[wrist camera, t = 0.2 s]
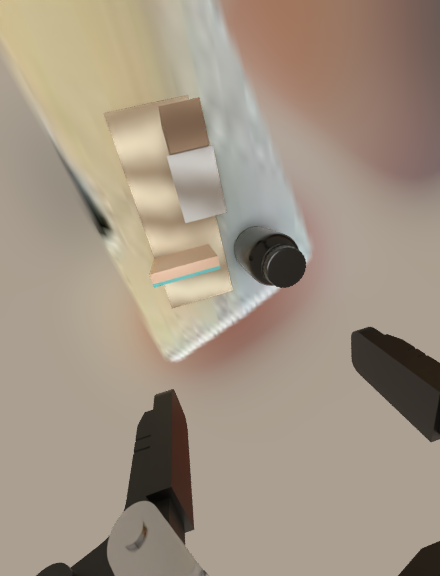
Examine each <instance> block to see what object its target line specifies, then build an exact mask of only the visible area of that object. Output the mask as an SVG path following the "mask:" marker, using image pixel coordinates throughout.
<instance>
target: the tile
mask: <svg viewBox="0 0 440 576" xmlns="http://www.w3.org/2000/svg"><path fill="white" fill-rule="evenodd" d="M218 269H221V268H220V264H219V260H218V256H217V254H216V253H215V252H214V251H213V249H212V248H211V247H210V245H209V244H205V245H202V246H198V247H194V248H191V249H187V250H183V251H180V252H176V253H172V254H169V255H165V256H161V257H157V258H154V262H153V265H152V268H151V271H150V278H151V280H152V283H153V286H154V287H158V286H161V285H165V284H169V283H172V282H176V281H179V280H183V279H186V278H190V277H193V276H197V275H200V274H204V273H207V272H211V271H215V270H218Z"/></svg>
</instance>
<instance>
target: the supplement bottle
mask: <svg viewBox="0 0 440 576" xmlns="http://www.w3.org/2000/svg"><path fill="white" fill-rule="evenodd" d="M235 256H236V258H237V260H238V262H239V263H240V264H241V266H242V267H243V268H244V269H245V270H246V271H247V272H248V273H249V274H250V275H251V276H252V277H253V278H254V279H255V280H256V281H258V282H259V283H261V284H264V285H268V286H276V287H280V288H282V287H283V288H286V287H290V286H293V285H294V284H296V283H297V282H298V281H299V280H300V279H301V278H302V276H303V275H304V272H305V268H306V262H305V258H304V255H302V252H300V251H299V249H298V246H297V244H296V243H295V242H294V240H293V239H292V238H290V237H289V236H287V235H285V234H282V233H279V232H276V231H273V230H270V229H267V228H264V227H257V226H256V227H251V228H248V229H246V230H245V231H243V232H242V233H241V234H240V236H239V237H238V239H237V241H236V244H235Z"/></svg>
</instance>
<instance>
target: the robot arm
mask: <svg viewBox="0 0 440 576" xmlns="http://www.w3.org/2000/svg"><path fill="white" fill-rule="evenodd" d="M351 349H352V363H353V366H354V367H355V369H356V371H357V372H358V373H359V374H360V375H361V376H362V377H363V378H364V379H365V380H366V381H367V382H368V383H369V384H371V386H373V387H374V388H375V389H376V390H377V391H378V392H379V393H380V394H381V395H382V396H383V397H384V398H385V399H386V400H387V401H388V402H389V403H390V404H392V406H394V407H395V408H396V409H397V410H398V411H399V412H400V413H401V414H402V415H403V416H404V417H405V418H406V419H407V420H408V421H409V422H410V423H411V424H412V425H413V426H415V427H416V428H417V429H418V430H419V431H420V432H421V433H422V434H423V435H424V436H425V437H426V438H427V439H428V440H429V441H430V442H433V441H436V440H438V439H440V363H439V362H437V361H436V360H434V359H433V358H431V357H429V356H426V355H425V353H423V352H421V351H420V350H418V349H415V347H413V346H412V345H410V344H409V343H407V342H405V341H404V340H402V339H399V338H397V337H394V336H391V335H388V334H386V335H384V334H382V333H381V332H379V331H378V330H376V329H375V328H372V327H367V328H364V329H361V330H357V331H355V332H353V333H352V335H351ZM191 530H194V520H193V505H192V489H191V474H190V459H189V445H188V429H187V423H186V418H185V415H184V413H183V410H182V408H181V405H180V403H179V400H178V398H177V395H176V393H175V391H174V389H171V390H168V391H166V392H162V393H159V394H156V395H155V398H154V407H153V410H151V411H148V412H145V413H144V415H143V417H142V419H141V420H140V422H139V424H138V427H137V434H136V442H135V447H134V455H133V461H132V468H131V474H130V481H129V487H128V494H127V500H126V505H125V509H124V512H123V513H122V514H121V516H120V517H119V518H118V520H117V521H116V523H115V525H114V527H113V529H112V531H111V534H110V536H109V537H108V538H107V539H106V540H105V541H104V542H103V543H102V544H100V545H99V546H98V547H97V548H96V549H94V550H93V551H92V552H90V553H89V554H88V555H87V556H85V557H84V558H83V559H82V560H80V561H79V562H77V563H76V564H75V565H74V566H72V567H71V568H70V567H69V566H67V565H66V564H64V563H56V564H52V565H50V566H48V567H47V568H45V569H44V570H42V571H41V572H40V573H39V574H38V575H37V576H209V575H208V574H207V573H206V572H205V571H204V570H203V569H202V568H201V567H200V565H199V564H198V563H197V561H196V560H195V559H194V557H193V556H192V554H191V553H190V552H189V550H188V549H187V548H186V547H185V533H186V532H188V531H191ZM398 576H440V541H439V542H436V543H434V544H432V545H429V546H427V547H424V548H422V549H421V550H420V551H419V552H418V553H417V554H416V556H415V557H414V558H413V559H412V561H410V563H409V564H408V565H407V566H406V567H405V568H404V570H403V571H402V572H401V573H400V574H399V575H398Z"/></svg>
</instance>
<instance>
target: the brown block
mask: <svg viewBox="0 0 440 576" xmlns="http://www.w3.org/2000/svg"><path fill="white" fill-rule="evenodd" d="M158 107H159V114H160V120H161V126H162V130H163V134H164V137H165V141H166V144H167V148H168V152H169V155H170V156H167V160H168V163H169V167H170V171H171V174H172V178H173V181H174V185H175V188H176V192H177V195H178V199H179V203H180V206H181V210H182V213H183V217H184V220H185V223H189V222H192V221H196V220H200V219H204V218H208V217H211V216H215V215H219V214H223V213H227V211H226V206H225V201H224V197H223V192H222V187H221V182H220V178H219V173H218V168H217V164H216V159H215V154H214V149H213V145H212V146H209V140H208V136H207V131H206V126H205V122H204V117H203V112H202V108H201V103H200V98H195V99H190V100H185V101H181V102H176V103H172V104H167V105H162V106H158Z"/></svg>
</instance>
